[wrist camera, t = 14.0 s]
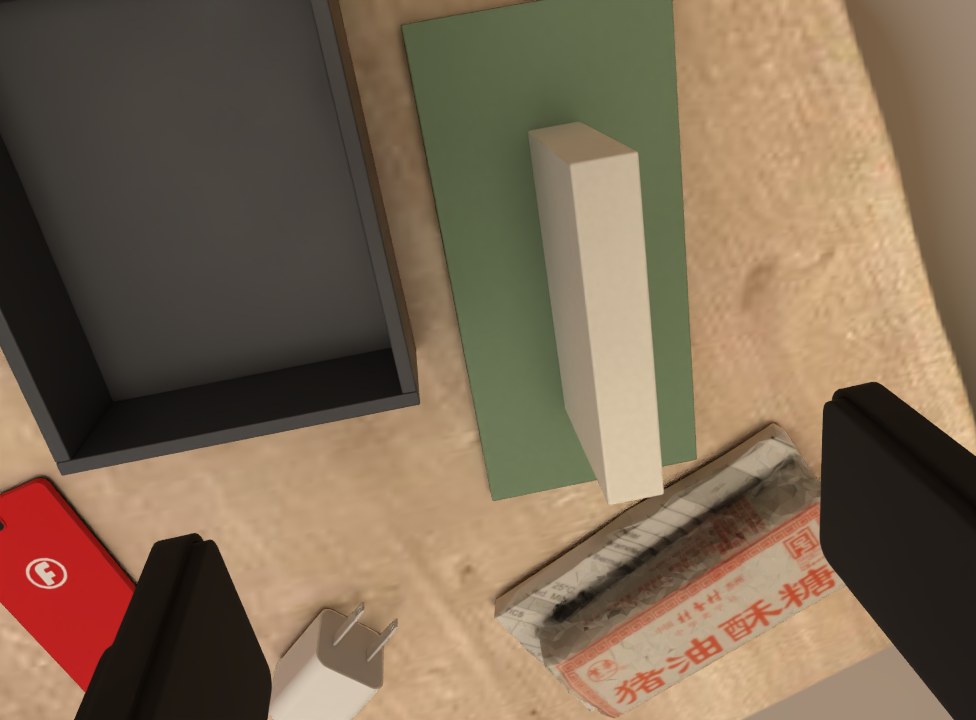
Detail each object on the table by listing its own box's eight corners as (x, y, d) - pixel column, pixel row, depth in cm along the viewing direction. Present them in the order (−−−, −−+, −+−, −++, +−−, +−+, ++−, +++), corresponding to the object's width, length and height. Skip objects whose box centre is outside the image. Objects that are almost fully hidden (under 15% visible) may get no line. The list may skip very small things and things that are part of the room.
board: (527, 130, 31) (569, 164, 23) (580, 120, 31) (638, 150, 23) (564, 409, 36) (608, 506, 29) (609, 400, 36) (664, 495, 29)
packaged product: (821, 463, 34) (900, 594, 38) (772, 413, 39) (848, 535, 43) (499, 666, 37) (604, 768, 41) (487, 597, 41) (583, 696, 45)
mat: (400, 25, 29) (400, 25, 29) (663, -22, 30) (671, -24, 29) (490, 490, 39) (492, 501, 38) (689, 449, 39) (697, 459, 38)
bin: (-67, -3, 27) (-170, -9, 22) (322, -71, 28) (308, -91, 23) (109, 410, 34) (61, 476, 29) (415, 350, 35) (420, 404, 30)
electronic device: (216, 682, 41) (44, 473, 35) (214, 690, 41) (39, 480, 35) (122, 722, 42) (-65, 522, 36) (119, 730, 41) (-71, 529, 35)
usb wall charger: (277, 657, 41) (266, 718, 38) (349, 571, 40) (345, 626, 36) (339, 685, 43) (334, 746, 39) (411, 603, 41) (413, 660, 37)
